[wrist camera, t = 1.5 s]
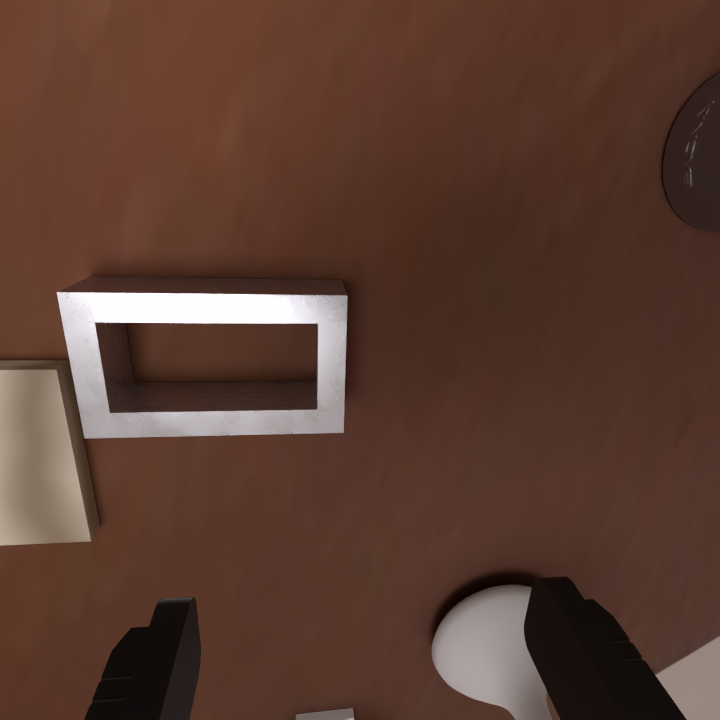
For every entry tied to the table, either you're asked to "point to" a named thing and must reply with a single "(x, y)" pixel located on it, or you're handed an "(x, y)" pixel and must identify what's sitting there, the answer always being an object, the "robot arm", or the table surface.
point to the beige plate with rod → (42, 457)
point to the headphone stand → (328, 715)
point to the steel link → (201, 399)
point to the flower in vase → (491, 652)
